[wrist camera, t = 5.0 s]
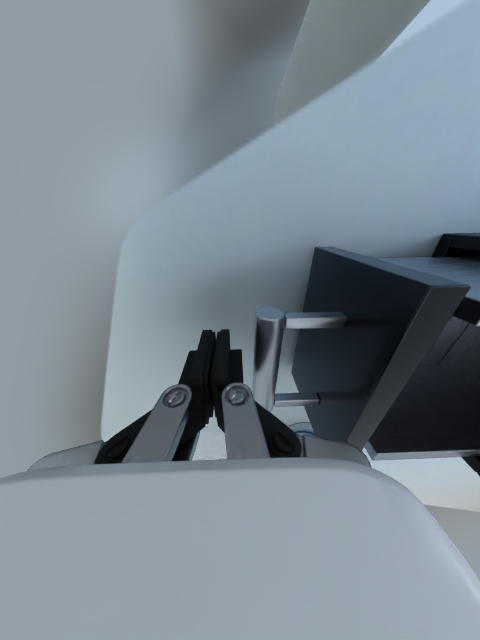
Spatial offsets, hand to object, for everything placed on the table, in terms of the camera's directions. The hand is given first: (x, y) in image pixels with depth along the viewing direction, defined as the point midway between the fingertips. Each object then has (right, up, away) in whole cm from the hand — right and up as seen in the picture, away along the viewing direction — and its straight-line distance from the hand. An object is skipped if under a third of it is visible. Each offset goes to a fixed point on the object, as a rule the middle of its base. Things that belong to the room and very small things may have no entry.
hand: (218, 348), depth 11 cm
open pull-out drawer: (+11, +2, +3) cm, 11 cm away
